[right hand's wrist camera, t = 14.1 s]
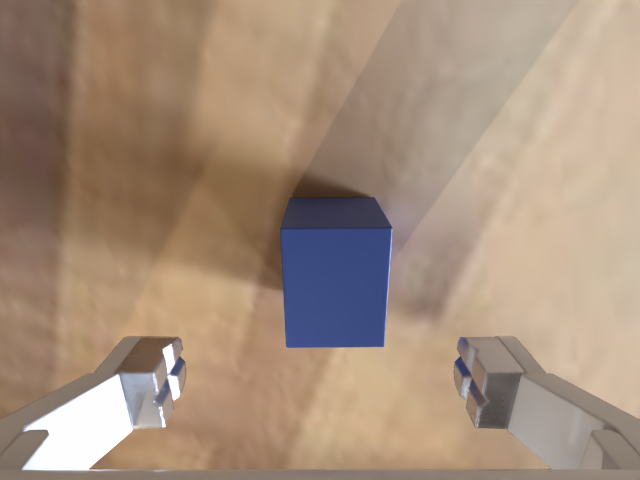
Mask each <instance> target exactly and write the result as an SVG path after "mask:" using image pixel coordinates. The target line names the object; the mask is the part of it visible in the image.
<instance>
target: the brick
mask: <svg viewBox="0 0 640 480" xmlns="http://www.w3.org/2000/svg"><path fill="white" fill-rule="evenodd" d="M392 231H393V228H392V226H391V224H390V223H389V221H388V219H387V218H386V216H385V214H384V213H383V211H382V209H381V208H380V206H379V204H378V202H377V201H376V199H375V198H374V197H354V198H290V199H289V202H288V206H287V209H286V213H285V216H284V219H283V223H282V226H281V249H282V270H283V291H284V312H285V333H286V347H287V348H313V347H384V345H385V330H386V316H387V302H388V288H389V273H390V259H391V245H392Z"/></svg>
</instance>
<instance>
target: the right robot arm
mask: <svg viewBox="0 0 640 480" xmlns="http://www.w3.org/2000/svg"><path fill="white" fill-rule="evenodd" d="M182 350H183V346H182V341H181V339H180V338H179V337H158V336H145V337H144V336H127V337H124V338H123V339H122V340H121V341H120V343H119V344H118V345H117V346H116V347H115V348H114V350H113V351H112V352H111V353H110V354H109V355H108V357H107V358H106V359H105V360H104V361H103V363H102V364H101V365H100V366H99V367H98V368H97V370H96V371H95V372H94V373H93V374H86V375H84V376H82V377H80V378H78V379H77V380H75V381H73V382H71V383H69V384H67V385H65V386H63V387H61V388H59V389H57V390H56V391H54V392H52V393H50V394H48V395H46V396H44V397H42V398H40V399H38V400H37V401H35V402H33V403H31V404H29V405H27V406H25V407H23V408H21V409H19V410H18V411H16V412H14V413H12V414H10V415H8V416H6V417H4V418H2V419H0V480H640V420H639V419H637V418H636V417H634V416H632V415H630V414H628V413H626V412H624V411H622V410H620V409H618V408H617V407H615V406H613V405H611V404H609V403H607V402H605V401H603V400H601V399H600V398H598V397H596V396H594V395H592V394H590V393H588V392H586V391H584V390H582V389H581V388H579V387H577V386H575V385H573V384H571V383H569V382H567V381H565V380H563V379H562V378H560V377H558V376H556V375H554V374H547V373H546V372H545V371H544V370H543V368H542V367H541V366H540V365H539V364H538V363H537V361H536V360H535V359H534V358H533V357H532V356H531V354H530V353H529V352H528V351H527V350H526V348H525V347H524V346H523V345H522V344H521V343H520V341H519V340H518V339H517V338H516V337H514V336H495V337H460V339H459V341H458V346H457V350H458V352H459V354H460V357H459V358H458V359H457V360H456V361H455V364H454V381H455V385H456V388H457V390H458V393H459V395H460V396H461V397H463V398H464V399H465V400H467V404H466V410H467V412H468V414H469V416H470V418H471V420H472V422H473V424H474V426H475V428H497V429H508V431H509V432H510V433H511V434H512V435H513V436H515V437H516V438H517V439H518V440H519V441H520V442H521V443H523V444H524V445H525V446H526V447H527V448H528V449H530V450H531V451H532V452H533V453H534V454H535V455H536V456H538V457H539V458H540V459H541V460H542V461H543V462H545V463H546V464H547V465H548V466H549V467H550V468H551V469H539V470H383V469H348V470H87V469H89V468H90V467H91V466H92V465H93V464H94V463H96V462H97V461H98V460H99V459H100V458H101V457H102V456H104V455H105V454H106V453H107V452H108V451H109V450H111V449H112V448H113V447H114V446H115V445H116V444H118V443H119V442H120V441H121V440H122V439H123V438H124V437H126V436H127V435H128V434H129V433H130V432H131V431H132V429H142V428H165V426H166V424H167V422H168V420H169V418H170V416H171V414H172V412H173V410H174V404H173V400H175V399H176V398H177V397H179V396H180V395H181V393H182V390H183V388H184V385H185V380H186V364H185V361H184V360H183V359H182V358H181V357H180V354H181V352H182Z"/></svg>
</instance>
